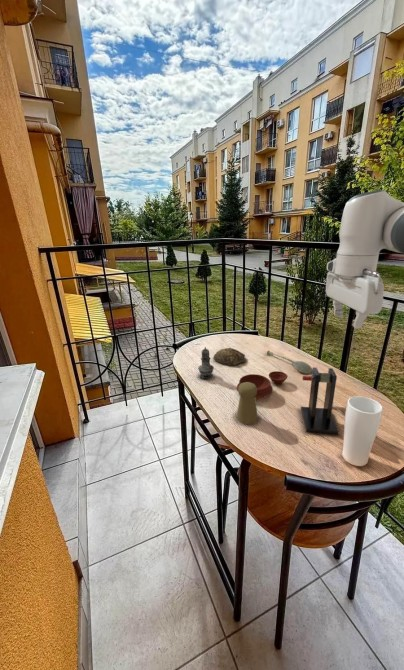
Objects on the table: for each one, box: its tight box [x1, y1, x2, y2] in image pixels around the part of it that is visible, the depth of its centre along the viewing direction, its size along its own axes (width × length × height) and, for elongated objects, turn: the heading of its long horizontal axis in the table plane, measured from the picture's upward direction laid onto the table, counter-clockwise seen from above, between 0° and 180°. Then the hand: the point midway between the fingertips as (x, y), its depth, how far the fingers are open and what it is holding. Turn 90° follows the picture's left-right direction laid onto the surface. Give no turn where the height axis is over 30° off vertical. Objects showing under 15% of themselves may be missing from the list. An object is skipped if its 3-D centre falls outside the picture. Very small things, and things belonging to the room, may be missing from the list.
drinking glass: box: [341, 395, 383, 467], centre depth 63 cm, size 7×7×15 cm
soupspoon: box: [266, 350, 313, 375], centre depth 113 cm, size 22×3×7 cm
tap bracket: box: [300, 367, 339, 436], centre depth 76 cm, size 10×8×16 cm
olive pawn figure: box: [236, 382, 258, 425], centre depth 80 cm, size 6×6×11 cm
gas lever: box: [302, 372, 330, 384], centre depth 80 cm, size 16×6×2 cm
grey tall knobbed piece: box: [197, 347, 215, 381], centre depth 103 cm, size 6×6×12 cm
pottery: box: [236, 371, 288, 399], centre depth 95 cm, size 12×20×4 cm, turn 123°
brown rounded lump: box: [213, 347, 246, 366], centre depth 118 cm, size 13×12×5 cm
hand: (346, 321), depth 72 cm, fingers open, 8 cm apart
